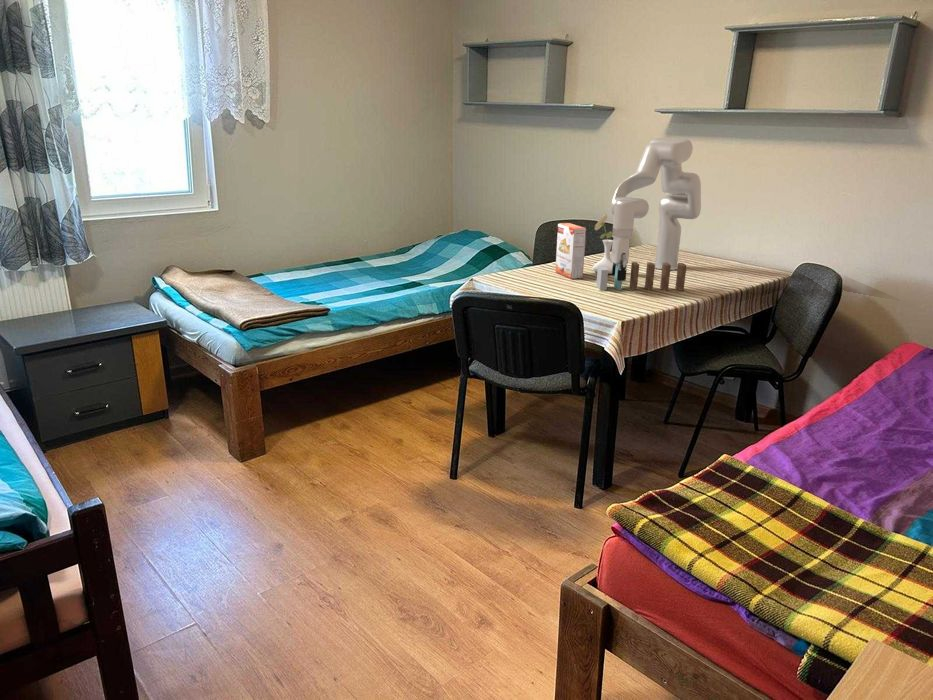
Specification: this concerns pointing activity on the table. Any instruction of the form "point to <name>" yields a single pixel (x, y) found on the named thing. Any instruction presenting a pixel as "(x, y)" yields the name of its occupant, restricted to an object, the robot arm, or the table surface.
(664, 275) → the tile
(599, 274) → the end block
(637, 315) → the table surface
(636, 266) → the brown wooden block
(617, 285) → the teal block
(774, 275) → the table surface
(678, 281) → the brown wooden block
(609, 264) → the flower in vase
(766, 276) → the table surface
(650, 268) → the tile
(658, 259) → the robot arm
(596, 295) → the table surface
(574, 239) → the cracker box
